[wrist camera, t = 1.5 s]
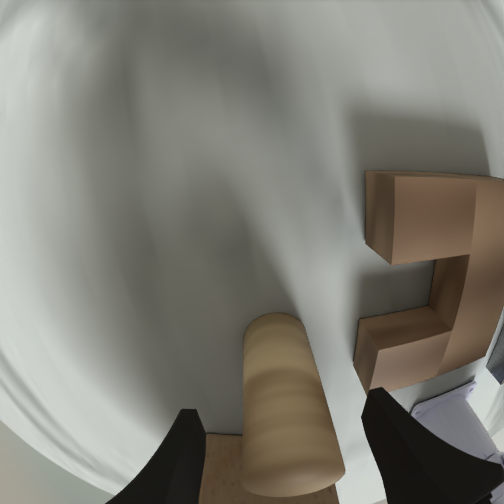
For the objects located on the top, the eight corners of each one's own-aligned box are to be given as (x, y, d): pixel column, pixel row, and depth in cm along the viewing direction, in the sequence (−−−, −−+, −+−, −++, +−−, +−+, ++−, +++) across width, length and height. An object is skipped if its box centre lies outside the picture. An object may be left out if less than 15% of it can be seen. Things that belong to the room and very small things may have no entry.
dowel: (305, 358, 16) (337, 488, 8) (247, 364, 16) (248, 499, 8) (306, 309, 15) (353, 451, 6) (240, 315, 15) (235, 466, 6)
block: (464, 334, 16) (484, 356, 13) (353, 365, 16) (367, 397, 13) (492, 176, 12) (524, 184, 9) (365, 171, 12) (394, 176, 10)
